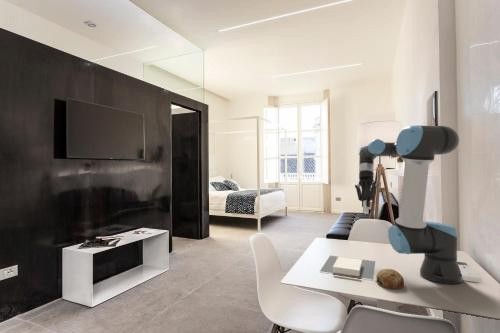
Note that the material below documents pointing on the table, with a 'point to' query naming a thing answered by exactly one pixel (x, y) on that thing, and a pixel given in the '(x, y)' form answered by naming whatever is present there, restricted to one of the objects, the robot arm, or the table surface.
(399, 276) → the bread roll
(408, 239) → the robot arm
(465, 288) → the table surface
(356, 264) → the tile
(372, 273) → the mat
